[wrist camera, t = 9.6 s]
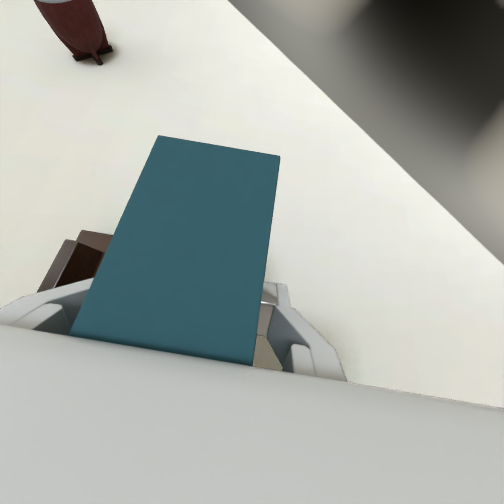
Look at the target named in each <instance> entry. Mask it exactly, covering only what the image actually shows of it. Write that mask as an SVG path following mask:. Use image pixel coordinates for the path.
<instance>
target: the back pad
mask: <svg viewBox="0 0 504 504" xmlns="http://www.w3.org/2000/svg"><path fill="white" fill-rule="evenodd" d="M279 165H280V156H277V155H271V154H265V153H260V152H254V151H248V150H242V149H236V148H230V147H224V146H219V145H213V144H207V143H201V142H195V141H189V140H183V139H178V138H172V137H166V136H160V135H159V136H158V137H157V139H156V141H155V143H154V146H153V148H152V150H151V152H150V155H149V157H148V159H147V161H146V164H145V166H144V168H143V170H142V172H141V175H140V177H139V179H138V181H137V184H136V186H135V188H134V190H133V192H132V195H131V197H130V199H129V201H128V204H127V206H126V208H125V210H124V212H123V215H122V217H121V219H120V221H119V224H118V226H117V228H116V230H115V233H114V235H113V237H112V239H111V241H110V244H109V246H108V248H107V250H106V253H105V255H104V257H103V259H102V261H101V264H100V266H99V268H98V270H97V273H96V275H95V277H94V279H93V281H92V284H91V286H90V288H89V290H88V293H87V295H86V297H85V299H84V301H83V304H82V306H81V308H80V310H79V313H78V315H77V317H76V319H75V322H74V324H73V326H72V328H71V330H70V333H69V335H68V336H73V337H79V338H85V339H91V340H97V341H103V342H109V343H115V344H121V345H127V346H133V347H139V348H145V349H151V350H157V351H163V352H169V353H175V354H181V355H187V356H193V357H199V358H205V359H211V360H217V361H223V362H229V363H235V364H241V365H248V366H252V365H253V358H254V350H255V343H256V335H257V328H258V321H259V313H260V306H261V298H262V291H263V283H264V276H265V269H266V261H267V254H268V246H269V239H270V232H271V224H272V217H273V209H274V202H275V194H276V187H277V180H278V172H279Z"/></svg>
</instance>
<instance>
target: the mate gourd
mask: <svg viewBox="0 0 504 504" xmlns="http://www.w3.org/2000/svg"><path fill="white" fill-rule="evenodd" d="M34 2H35V4H36V5H37V7H38V9H39V10H40V12H41V14H42V15H43V17H44V18H45V20H46V21H47V22H48V24H49V25H50V27H51V28H52V30H53V31H54V32H55V34H56V35H57V36H58V38H59V39H60V40H61V41H62V42H63V43H64V45H65V46H66V47H67V48H68V49H69V50H70V51H71V52H72V53H73V54H74V55H73V58H74V59H75V60H76V61H80V60H83V59H87V58H90V57H93V58H94V59H95V61H96V62H97V64H98V65H102V64H103V63H102V61H101V59H100V57H99V55H101V54H104V53H108V52H111V51H113V50H112V47H111V45H109V44H108V41H107V38H106V34H105V31H104V27H103V25H102V22H101V20H100V18H99V15H98V13H97V11H96V8H95V6H94V4H93V2H92V0H34Z"/></svg>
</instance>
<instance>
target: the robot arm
mask: <svg viewBox="0 0 504 504" xmlns="http://www.w3.org/2000/svg"><path fill="white" fill-rule="evenodd" d="M93 279H94V278H91V279H87V280H83V281H79V282H76V283H72V284H68V285H65V286H61V287H57V288H54V289H50V290H46V291H42V292H39V293H35V294H31V295H28V296H24V297H21V298H19V299H17V300H15V301H13V302H11V303H10V304H8V305H6V306H4V307H2V308H0V504H504V408H500V407H494V406H488V405H482V404H476V403H470V402H464V401H458V400H452V399H446V398H440V397H434V396H428V395H422V394H416V393H410V392H404V391H398V390H392V389H386V388H380V387H374V386H368V385H362V384H356V383H350V382H347V379H346V376H345V374H344V371H343V369H342V366H341V363H340V361H339V358H338V355H337V353H336V350H335V349H334V348H333V347H332V346H331V345H330V344H329V343H328V342H327V341H326V340H325V339H324V338H323V337H322V336H321V335H320V334H319V333H318V332H317V331H316V330H315V329H314V328H313V327H312V326H311V325H310V324H309V323H308V322H307V321H306V320H305V319H304V318H303V317H302V316H301V315H300V314H299V313H298V312H297V311H296V310H295V309H294V308H291V304H290V299H289V294H288V288H287V285H285V284H278V283H270V282H264V283H263V291H262V298H261V306H260V313H259V321H258V328H257V335H262V336H267V337H266V338H267V340H268V341H269V343H270V345H271V347H272V349H273V350H274V352H275V354H276V356H277V358H278V359H279V361H280V363H281V365H282V367H283V369H282V371H278V370H272V369H266V368H260V367H254V366H248V365H241V364H235V363H229V362H223V361H217V360H211V359H205V358H199V357H193V356H187V355H181V354H175V353H169V352H163V351H157V350H151V349H145V348H139V347H133V346H127V345H121V344H115V343H109V342H103V341H97V340H91V339H85V338H79V337H73V336H68V335H69V333H70V330H71V328H72V326H73V324H74V322H75V319H76V317H77V315H78V313H79V310H80V308H81V306H82V304H83V301H84V299H85V297H86V295H87V293H88V290H89V288H90V286H91V284H92V281H93Z"/></svg>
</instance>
